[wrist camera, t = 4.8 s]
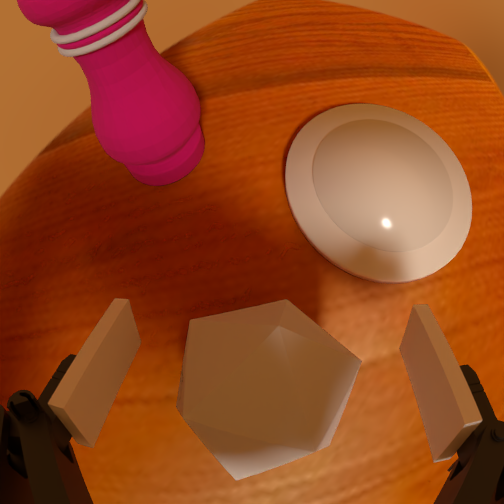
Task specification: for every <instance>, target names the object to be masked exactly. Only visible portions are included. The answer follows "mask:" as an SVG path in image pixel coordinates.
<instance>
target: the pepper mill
mask: <svg viewBox="0 0 504 504" xmlns="http://www.w3.org/2000/svg"><path fill="white" fill-rule="evenodd" d="M17 2H18V6H19V8H20V10H21V11H22V13H23V14H24V16H25V17H26V18H27V19H28V20H29V21H31V22H32V23H34V24H37V25H40V26H47V27H52V28H53V29H52V31H51V34H50V37H51V40H52V41H53V42H54V43H56V44H57V45H58V51H59V52H60V54H61V55H63V56H67V57H74V59H75V60H76V61H77V62H78V63H79V64H80V66H81V68H82V70H83V72H84V74H85V76H86V78H87V81H88V84H89V88H90V94H91V109H92V122H93V126H94V130H95V133H96V136H97V138H98V140H99V142H100V144H101V145H102V147H103V149H104V150H105V152H106V153H107V154H108V155H109V156H110V157H112V158H113V159H114V160H116V161H118V162H121V163H124V165H125V166H126V168H127V169H128V170H129V172H130V173H131V174H132V175H133V177H134V178H135V179H137V180H138V181H140V182H142V183H144V184H147V185H152V186H161V185H167V184H170V183H173V182H176V181H178V180H180V179H181V178H183V177H185V176H186V175H188V174H189V173H190V172H191V171H192V170H193V169H194V168H195V167H196V165H197V164H198V163H199V161H200V159H201V157H202V155H203V152H204V145H205V141H204V136H203V133H202V130H201V127H200V124H199V119H200V113H201V107H200V101H199V98H198V96H197V94H196V91H195V89H194V87H193V85H192V84H191V82H190V81H189V80H188V79H187V77H186V76H185V75H184V74H183V73H182V72H181V71H180V70H179V69H177V68H176V67H175V66H173V65H172V64H171V63H169V62H168V61H167V60H165V59H164V58H163V57H162V56H161V55H160V54H159V53H158V52H157V50H156V49H155V48H154V46H153V44H152V42H151V40H150V38H149V36H148V34H147V32H146V28H145V24H144V21H143V18H144V16H145V14H146V12H147V8H148V7H147V3H146V2H145V1H144V0H17Z"/></svg>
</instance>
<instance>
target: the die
mask: <svg viewBox="0 0 504 504" xmlns="http://www.w3.org/2000/svg"><path fill="white" fill-rule="evenodd" d="M361 362H362V361H361V360H360V359H359V358H358V357H356V356H355V355H354V354H353V353H351V352H350V351H349V350H348V349H347V348H345V347H344V346H343V345H342V344H340V343H339V342H338V341H337V340H336V339H334V338H333V337H332V336H331V335H330V334H328V333H327V332H326V331H325V330H324V329H322V328H321V327H320V326H319V325H318V324H316V323H315V322H314V321H313V320H311V319H310V318H309V317H308V316H307V315H305V314H304V313H303V312H302V311H301V310H299V309H298V308H297V307H296V306H295V305H293V304H292V303H291V302H290V301H289V300H287V299H284V300H280V301H276V302H271V303H267V304H262V305H258V306H253V307H249V308H244V309H240V310H235V311H230V312H226V313H221V314H216V315H211V316H206V317H201V318H196V319H191V320H190V322H189V328H188V334H187V340H186V346H185V352H184V358H183V365H182V371H181V378H180V384H179V391H178V398H177V405H176V407H177V409H178V411H179V412H180V414H181V416H182V417H183V419H184V420H185V421H186V422H187V424H188V425H189V426H190V427H191V429H192V430H193V431H194V432H195V434H196V435H197V436H198V437H199V439H200V440H201V441H202V442H203V443H204V445H205V446H206V447H207V448H208V449H209V451H210V452H211V453H212V454H213V455H214V456H215V458H216V459H217V460H218V461H219V462H220V463H221V464H222V466H223V467H224V468H225V469H226V470H227V471H228V472H229V473H230V474H231V475H232V477H233V478H234V479H235V480H239V479H242V478H246V477H249V476H252V475H255V474H258V473H261V472H264V471H267V470H270V469H273V468H275V467H278V466H281V465H284V464H286V463H289V462H291V461H294V460H296V459H299V458H301V457H304V456H306V455H309V454H311V453H314V452H316V451H318V450H320V449H323V448H325V447H327V446H329V445H330V443H331V440H332V438H333V436H334V433H335V431H336V428H337V426H338V424H339V421H340V419H341V416H342V414H343V411H344V409H345V406H346V403H347V401H348V398H349V395H350V393H351V390H352V387H353V385H354V382H355V379H356V376H357V373H358V370H359V368H360V365H361Z"/></svg>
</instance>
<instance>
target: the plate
mask: <svg viewBox="0 0 504 504" xmlns="http://www.w3.org/2000/svg"><path fill="white" fill-rule="evenodd" d="M285 186H286V196H287V200H288V204H289V208H290V210H291V213H292V215H293V218H294V220H295V222H296V224H297V226H298V227H299V229H300V231H301V232H302V234H303V235H304V236H305V238H306V239H307V241H308V242H309V243H310V244H311V245H312V246H313V247H314V248H315V250H316V251H317V252H318V253H319V254H321V255H322V256H323V257H324V258H325V259H327V260H328V261H329V262H330V263H332V264H333V265H335V266H337V267H338V268H340V269H341V270H343V271H345V272H347V273H349V274H351V275H353V276H356V277H359V278H362V279H365V280H368V281H373V282H378V283H387V284H398V283H408V282H412V281H416V280H419V279H422V278H424V277H426V276H429V275H431V274H432V273H434V272H436V271H437V270H439V269H440V268H442V267H443V266H445V265H446V264H447V263H448V262H449V261H451V260H452V259H453V258H454V257H455V255H456V254H457V253H458V252H459V250H460V249H461V247H462V245H463V243H464V242H465V240H466V237H467V234H468V232H469V228H470V223H471V217H472V200H471V193H470V188H469V184H468V181H467V178H466V175H465V173H464V171H463V168H462V166H461V164H460V162H459V161H458V159H457V157H456V156H455V154H454V153H453V151H452V150H451V149H450V147H449V146H448V145H447V144H446V143H445V142H444V140H443V139H442V138H441V137H440V136H439V135H438V134H436V133H435V132H434V131H433V130H432V129H431V128H429V127H428V126H427V125H425V124H424V123H422V122H421V121H419V120H417V119H416V118H414V117H412V116H410V115H408V114H406V113H404V112H401V111H399V110H396V109H393V108H389V107H386V106H381V105H375V104H349V105H343V106H339V107H336V108H332V109H329V110H327V111H325V112H323V113H321V114H319V115H318V116H316V117H315V118H313V119H312V120H311V121H309V122H308V123H307V124H306V125H305V126H304V127H303V128H302V129H301V131H300V132H299V133H298V134H297V136H296V138H295V139H294V141H293V143H292V145H291V148H290V150H289V153H288V157H287V162H286V173H285Z"/></svg>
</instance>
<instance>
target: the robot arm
mask: <svg viewBox="0 0 504 504" xmlns="http://www.w3.org/2000/svg"><path fill="white" fill-rule="evenodd" d="M140 344H141V339H140V336H139V333H138V330H137V326H136V323H135V320H134V316H133V313H132V309H131V306H130V302H129V299H120V298H115V299H114V300H113V302H112V303H111V304H110V306H109V307H108V309H107V310H106V312H105V313H104V315H103V316H102V318H101V319H100V321H99V322H98V324H97V325H96V327H95V328H94V330H93V331H92V333H91V334H90V336H89V337H88V339H87V340H86V342H85V343H84V345H83V346H82V348H81V350H80V351H79V353H78V354H77V355H72V354H70V355H69V356H68V357H67V358H65V359H64V360H63V361H62V362H61V364H60V365H59V367H58V368H57V371H56V372H55V373H54V374H53V376H52V379H50V381H49V382H48V384H47V386H46V387H45V389H44V391H43V392H42V394H41V395H40V397H39V399H38V400H37V399H36V398H35V396H34V395H33V394H32V393H31V392H30V391H28V390H20V391H17V392H15V393H14V394H13V395H12V396H11V397H10V398H9V400H8V403H7V408H8V409H9V410H10V411H6V410H5V409H4V408H3V406H2V405H0V504H93V501H92V499H91V497H90V494H89V492H88V489H87V487H86V484H85V482H84V479H83V477H82V474H81V471H80V469H79V466H78V463H77V460H76V457H75V454H74V451H73V448H72V446H71V444H70V442H69V441H70V439H71V437H73V438H74V439H75V441H76V442H77V443H78V444H81V445H84V446H88V447H91V448H93V447H94V445H95V442H96V440H97V438H98V435H99V433H100V431H101V428H102V426H103V424H104V422H105V419H106V417H107V415H108V413H109V410H110V408H111V406H112V404H113V401H114V399H115V397H116V395H117V393H118V391H119V388H120V386H121V384H122V382H123V380H124V378H125V375H126V373H127V371H128V369H129V367H130V365H131V363H132V361H133V359H134V357H135V354H136V352H137V350H138V348H139V346H140ZM399 349H400V352H401V355H402V357H403V360H404V363H405V366H406V369H407V372H408V375H409V378H410V381H411V384H412V387H413V391H414V394H415V397H416V400H417V403H418V407H419V410H420V413H421V417H422V420H423V424H424V427H425V431H426V435H427V438H428V442H429V446H430V450H431V454H432V458H433V462H438V461H443V460H447V459H450V458H451V457H452V456H453V455H454V454H455V453H456V452H457V454H458V457H459V458H458V459H457V460H456V461H455V462H454V463H453V464H452V466H451V467H450V468H449V469H448V470H447V471H450V470H451V469H452V470H451V472H450V474H449V476H448V478H447V480H446V482H445V484H444V486H443V488H442V489H441V491H440V493H439V495H438V497H437V498H436V500H435V502H434V504H504V422H503V421H499V420H497V418H496V416H495V414H494V411H493V409H492V407H491V405H490V402H489V400H488V398H487V396H486V393H485V392H484V389H483V387H482V385H481V384H480V381H479V378H478V376H477V374H476V372H475V371H474V370H473V369H472V368H471V367H470V366H469V365H462V366H459V364H458V362H457V360H456V358H455V356H454V354H453V352H452V350H451V348H450V346H449V344H448V342H447V340H446V338H445V336H444V334H443V332H442V330H441V328H440V326H439V324H438V323H437V321H436V319H435V317H434V315H433V313H432V311H431V310H430V308H429V306H428V304H421V305H413V308H412V311H411V314H410V318H409V321H408V324H407V327H406V330H405V333H404V337H403V340H402V343H401V345H400V348H399Z"/></svg>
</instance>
